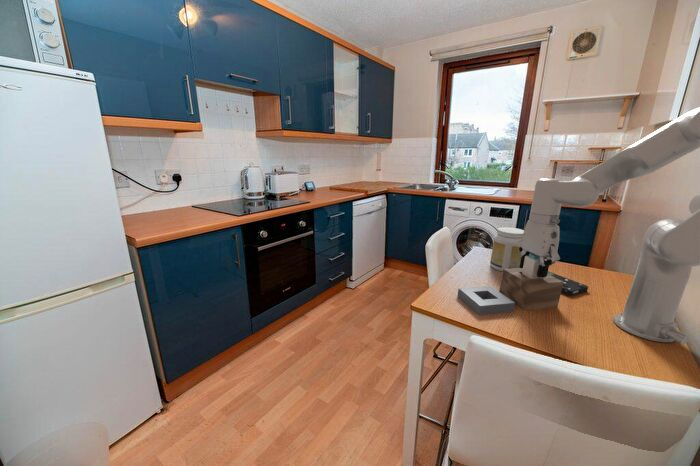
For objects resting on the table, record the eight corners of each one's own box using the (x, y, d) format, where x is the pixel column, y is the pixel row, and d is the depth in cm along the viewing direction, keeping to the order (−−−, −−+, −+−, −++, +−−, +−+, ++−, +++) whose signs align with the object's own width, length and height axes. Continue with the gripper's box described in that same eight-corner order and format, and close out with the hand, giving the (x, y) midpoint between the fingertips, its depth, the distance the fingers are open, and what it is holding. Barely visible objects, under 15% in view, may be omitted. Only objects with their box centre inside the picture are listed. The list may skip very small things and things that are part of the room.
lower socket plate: (513, 311, 89) (515, 302, 88) (478, 314, 87) (480, 305, 86) (488, 293, 100) (490, 285, 99) (457, 295, 98) (458, 287, 97)
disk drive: (587, 293, 103) (545, 276, 116) (589, 286, 102) (547, 270, 115) (569, 298, 99) (528, 280, 112) (571, 291, 98) (530, 274, 111)
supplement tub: (521, 266, 125) (528, 229, 120) (521, 276, 115) (529, 235, 110) (490, 260, 131) (496, 225, 126) (488, 269, 121) (494, 231, 116)
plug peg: (539, 288, 93) (546, 256, 90) (529, 289, 93) (535, 257, 90) (530, 283, 97) (536, 252, 94) (519, 283, 96) (525, 253, 93)
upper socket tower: (557, 307, 92) (563, 281, 89) (524, 310, 90) (530, 284, 87) (528, 290, 103) (533, 267, 101) (499, 292, 101) (503, 268, 98)
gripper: (579, 225, 81) (565, 282, 86) (532, 212, 98) (522, 261, 102) (557, 226, 80) (544, 284, 85) (512, 213, 96) (504, 262, 101)
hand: (532, 271), depth 93 cm, fingers open, 6 cm apart
